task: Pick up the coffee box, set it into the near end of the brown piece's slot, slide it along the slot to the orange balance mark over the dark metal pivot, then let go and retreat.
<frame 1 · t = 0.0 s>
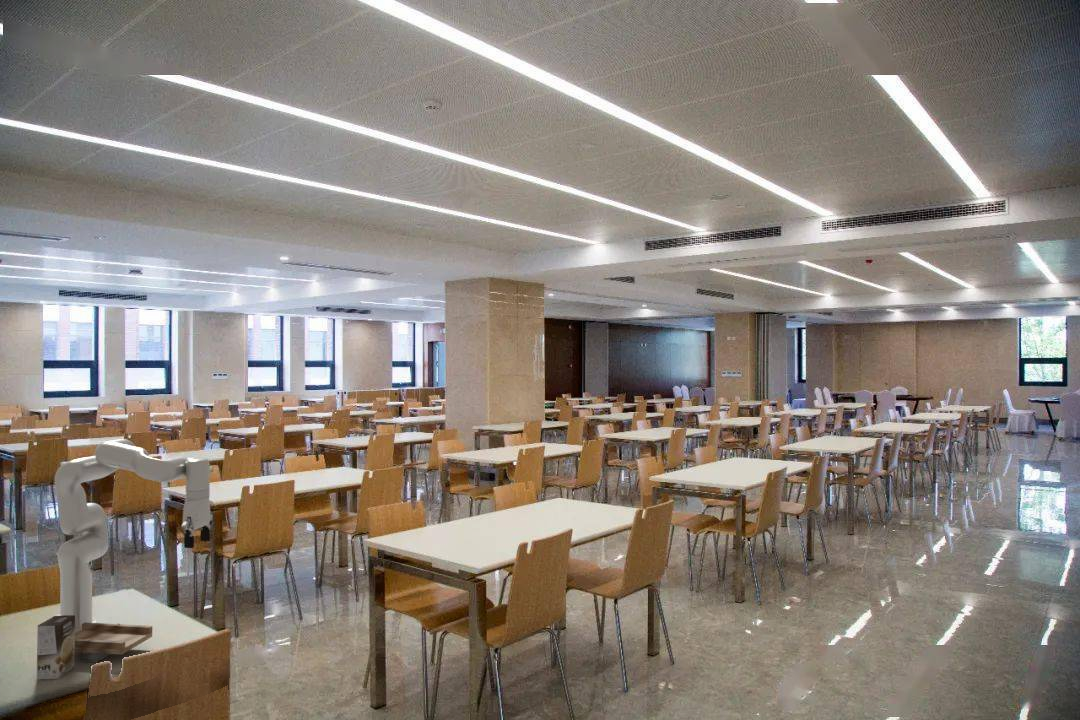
hand: (197, 544, 258), 31 cm above the table, tool pointing down, fingers open, 9 cm apart
coffee box: (56, 673, 226), on the table
brown piece: (102, 654, 240), on the table
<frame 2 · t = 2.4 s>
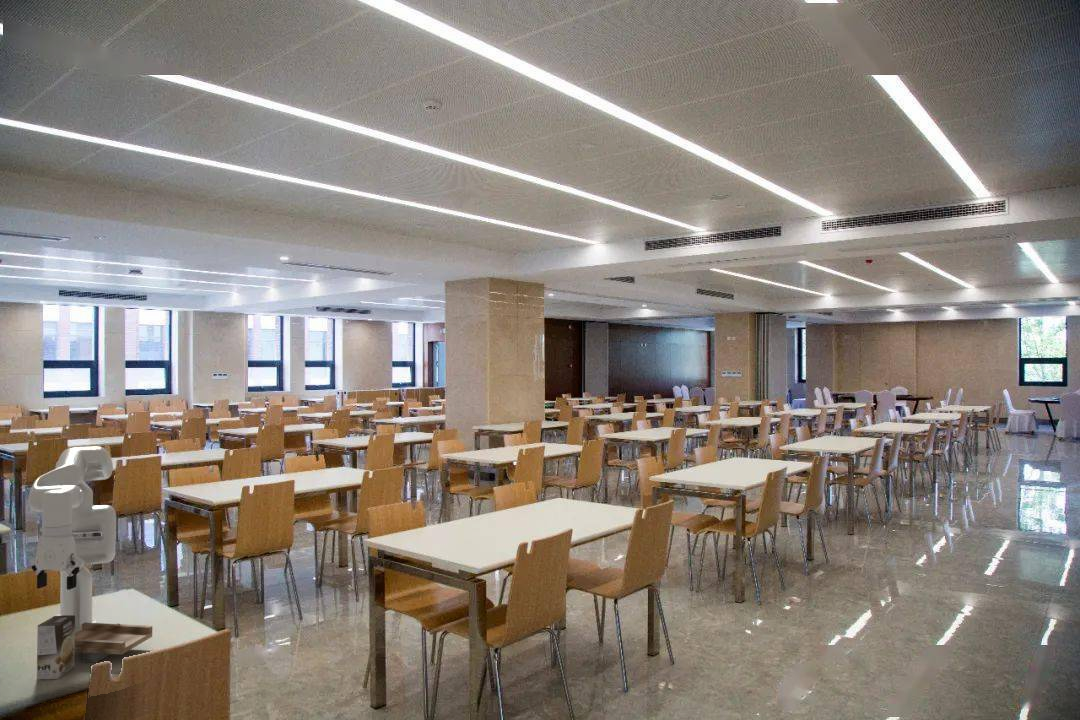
hand: (56, 587, 225), 26 cm above the table, tool pointing down, fingers open, 9 cm apart
nothing on the table moved.
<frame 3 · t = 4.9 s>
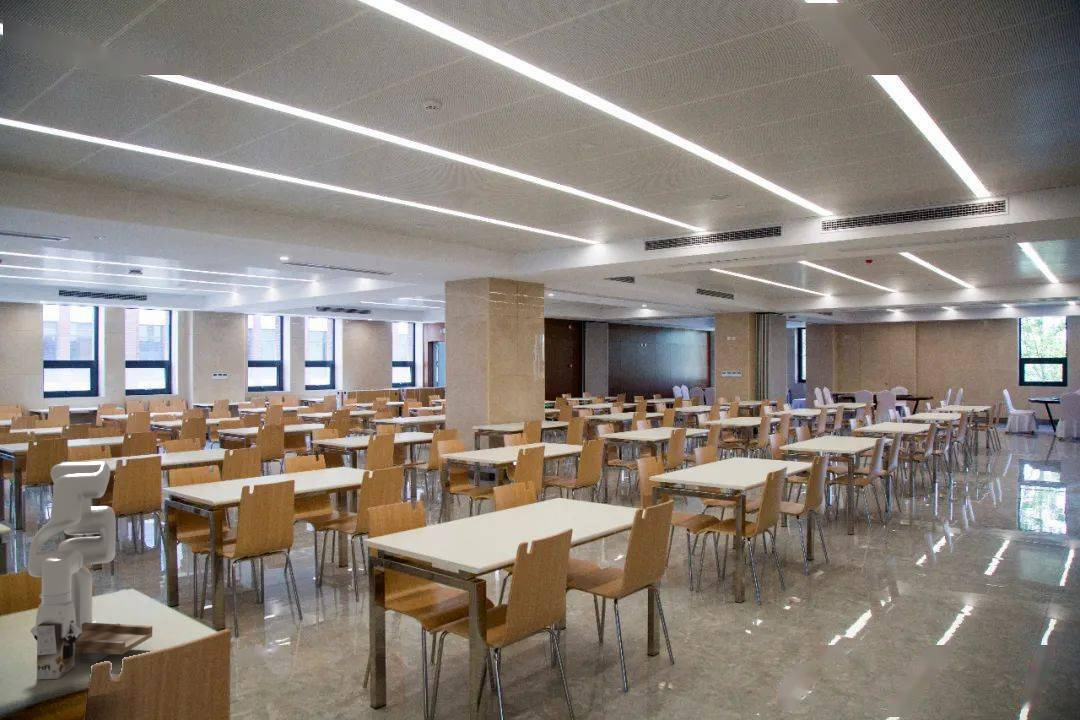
hand: (56, 656, 226), 5 cm above the table, tool pointing down, fingers closed on coffee box, 7 cm apart
coffee box: (56, 673, 226), on the table, touching gripper
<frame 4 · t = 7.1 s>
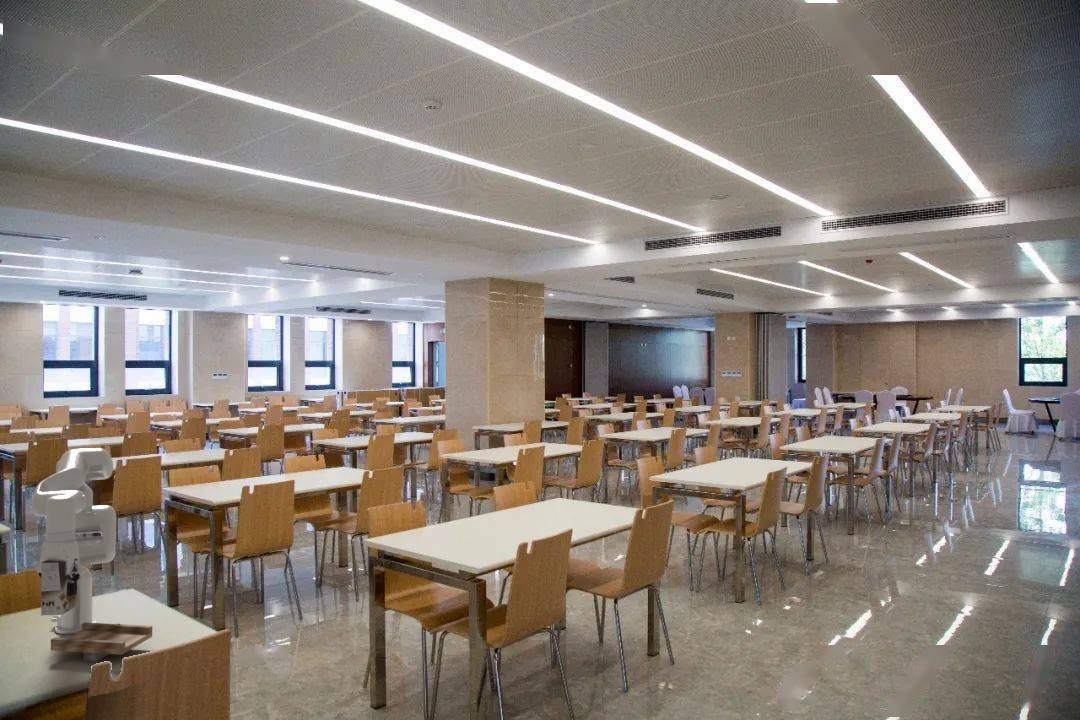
hand: (60, 593, 228), 23 cm above the table, tool pointing down, fingers closed on coffee box, 7 cm apart
coffee box: (60, 610, 228), point 18 cm above the table, touching gripper
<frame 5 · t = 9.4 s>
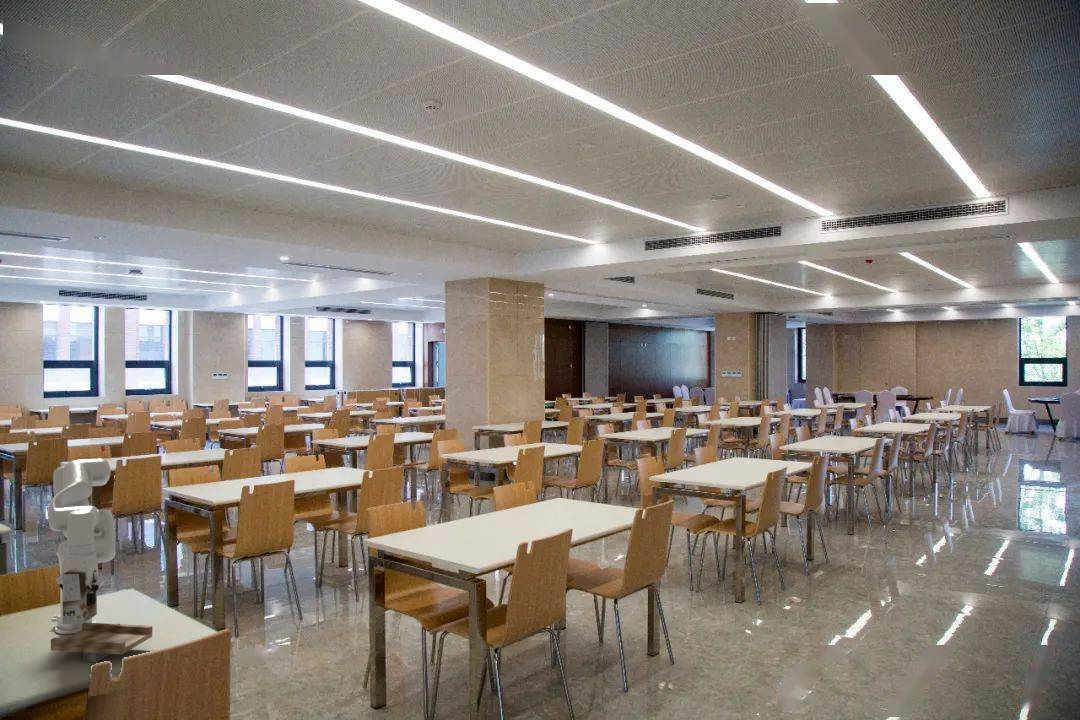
hand: (80, 603, 241), 16 cm above the table, tool pointing down, fingers closed on coffee box, 7 cm apart
coffee box: (80, 620, 241), point 11 cm above the table, touching gripper
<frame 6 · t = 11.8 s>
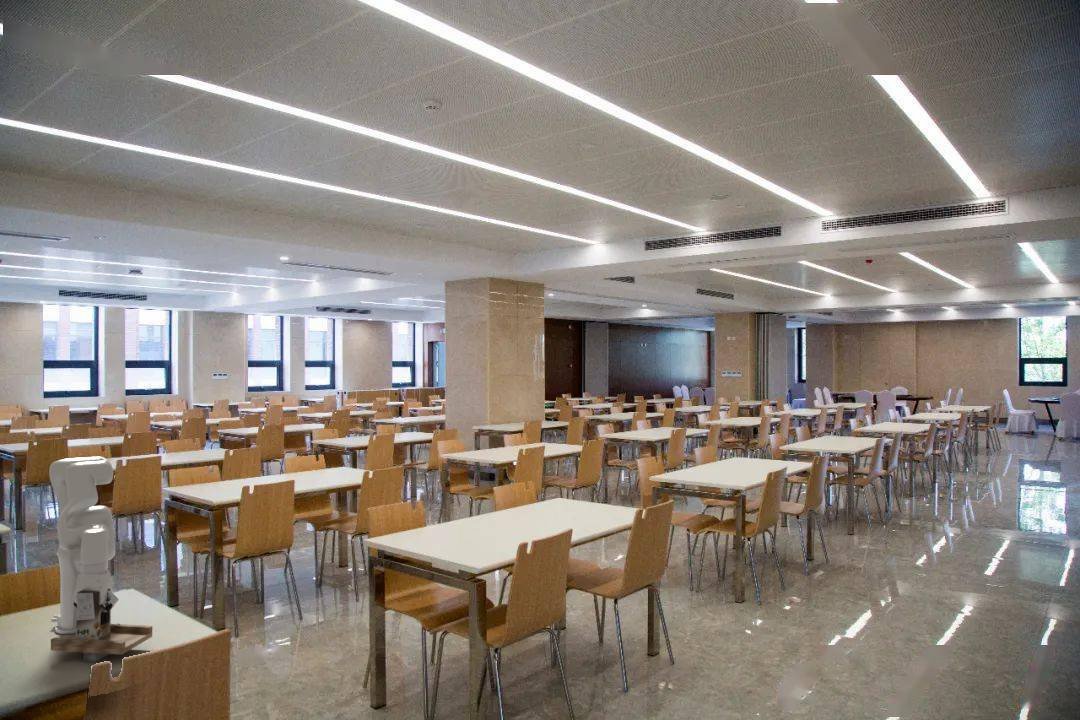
hand: (94, 622, 240), 10 cm above the table, tool pointing down, fingers closed on coffee box, 7 cm apart
coffee box: (93, 638, 240), point 5 cm above the table, touching gripper
when the fingers open (10 cm above the table, at t = 14.0 s): coffee box stays where it is, resting on brown piece.
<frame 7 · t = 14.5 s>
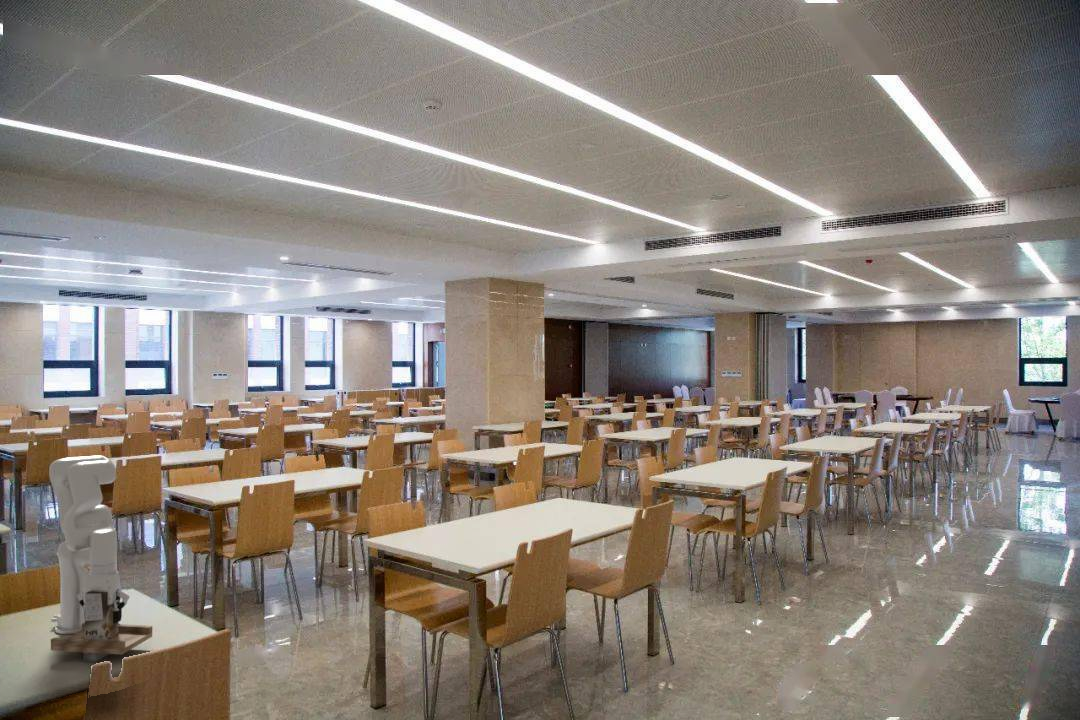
hand: (103, 621, 240), 11 cm above the table, tool pointing down, fingers open, 9 cm apart
coffee box: (102, 639, 240), point 5 cm above the table, touching brown piece
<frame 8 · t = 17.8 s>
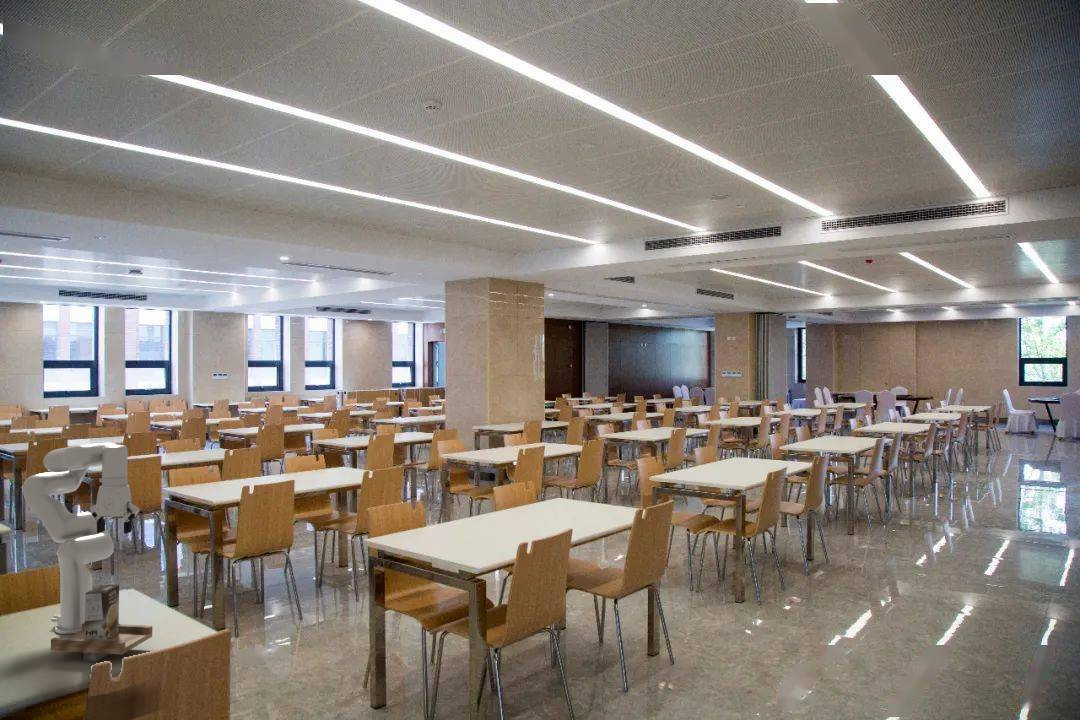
hand: (114, 532, 252), 36 cm above the table, tool pointing down, fingers open, 9 cm apart
nothing on the table moved.
at the end: coffee box 0.3 cm off-centre on the brown piece, point 4.8 cm above the brown piece's base; coffee box tilted 0°; the gripper is holding nothing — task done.
